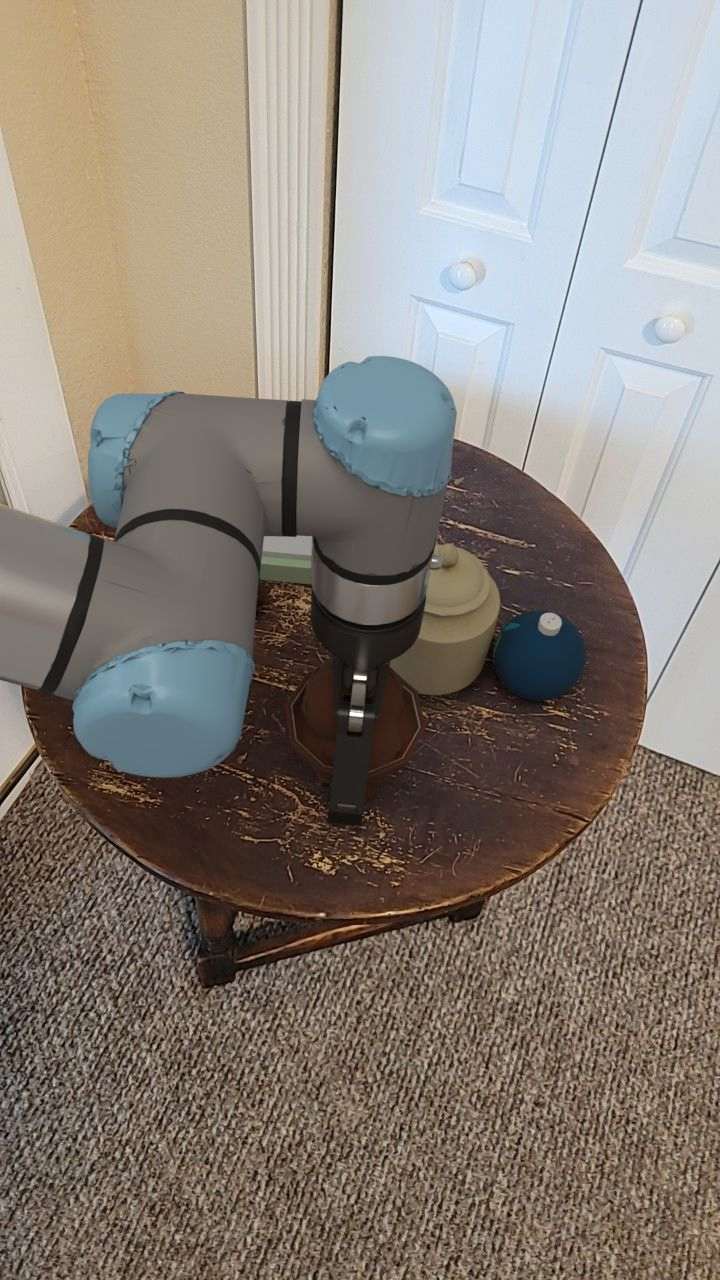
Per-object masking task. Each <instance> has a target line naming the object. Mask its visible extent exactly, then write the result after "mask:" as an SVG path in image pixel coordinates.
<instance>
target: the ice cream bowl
mask: <svg viewBox="0 0 720 1280" xmlns="http://www.w3.org/2000/svg"><path fill="white" fill-rule="evenodd" d="M333 657H334V655H333V656H332V657H330V658H328V659H325V661H323V662H322V663H321V664H320V665H318V666H317V667H315V668H314V669H313V670H310V671H308V672H306V673H305V675H304V676H303V677H302V679H301V680H300V682H299V683H298V684H297V686H296V687H295V689H294V691H293V692H292V694H291V695H290V696H289V698H288V699H287V701H286V702H285V705H284V706H285V714H286V721H287V728H288V737H289V743H290V746H291V748H292V751H293V752H294V753H296V754H297V756H299V757H300V758H301V759H302V760H303V761H304V762H305V763H306V764H307V765H308V766H309V767H311V769H312V770H313V771H314V772H316V773H317V778H318V786H319V788H320V789H321V787H322V781H328V782H331V774H332V775H333V764H334V753H335V743H336V731H337V717H336V710H335V709H334V707H333V695H334V685H335V676H334V674H333V672H332V667H333ZM377 674H378V672H377ZM343 677H344V669H343ZM376 683H377V677H376ZM341 691H342V693H343V694H344V695H351V696H352V692H348V691H347V690H346V689H345V688H344V686H343V679H342V690H341ZM375 692H376V686H375V689H374V690H373V691H372V692H371V693H369V694H365V697H370V698H371V697H374V696H375ZM426 730H427V725H426V720H425V716H424V713H423V707H422V704H421V700H420V694H419V693H418V691H417V690H415V689H414V688H413V687H412V686H411V685H410V684H408V683H407V682H406V681H405V680H404V679H402V677H400V676H399V675H398V674H397V673H396V672H395V671H394V670H393V669H392V668H391V667H390V668H389V676H388V678H387V680H386V681H385V682H384V688H383V697H382V706H381V711H380V712H379V713H378V714H377V721H375V722H374V728H373V736H372V744H371V752H370V760H369V769H368V777H367V793H366V796H365V800H367V799H370V798H372V797H373V796H374V794H375V792H376V791H377V788H378V787H379V785H380V783H381V782H382V779H384V778H386V777H388V776H391V775H393V774H395V773H398V772H400V771H402V770H404V768H405V766H406V765H407V764H408V762H409V760H410V758H411V756H412V755H413V753H414V751H415V749H416V747H417V746H418V744H419V742H420V741H421V739H422V736H423V735H424V733H425V731H426ZM326 795H327V796H328V797H329V794H326Z"/></svg>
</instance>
